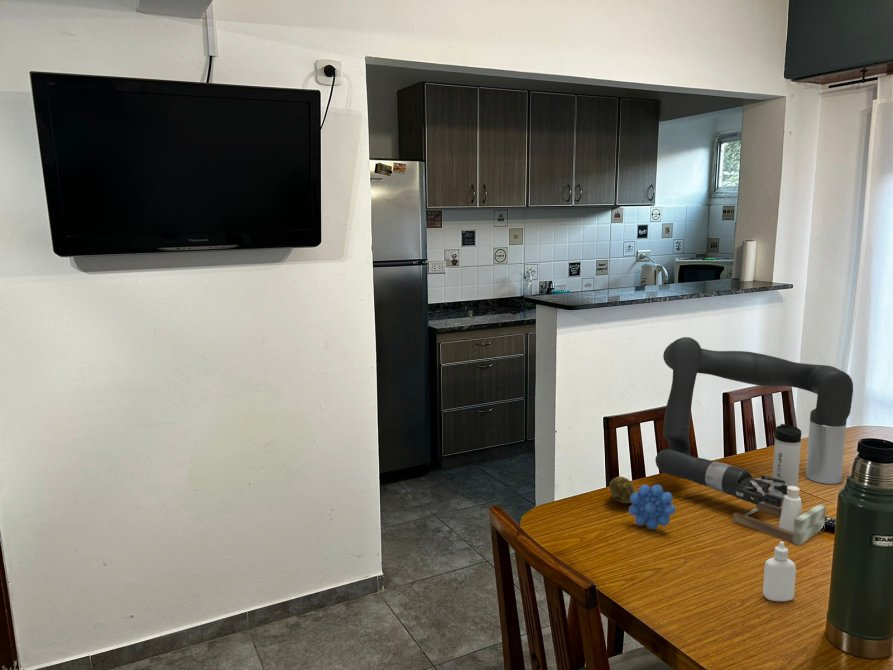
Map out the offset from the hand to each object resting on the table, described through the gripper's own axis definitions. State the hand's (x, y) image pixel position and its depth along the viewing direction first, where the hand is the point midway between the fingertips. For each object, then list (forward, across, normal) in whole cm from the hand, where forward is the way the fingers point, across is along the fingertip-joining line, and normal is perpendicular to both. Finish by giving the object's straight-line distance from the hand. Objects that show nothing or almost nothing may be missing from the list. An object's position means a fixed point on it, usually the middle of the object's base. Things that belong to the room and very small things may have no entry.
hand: (790, 498), depth 165 cm
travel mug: (-10, +18, +8) cm, 22 cm away
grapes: (-22, -25, +8) cm, 34 cm away
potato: (-36, -18, +8) cm, 41 cm away
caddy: (-2, 0, +8) cm, 8 cm away
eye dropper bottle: (+13, -32, +8) cm, 36 cm away
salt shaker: (+1, 0, +8) cm, 8 cm away
